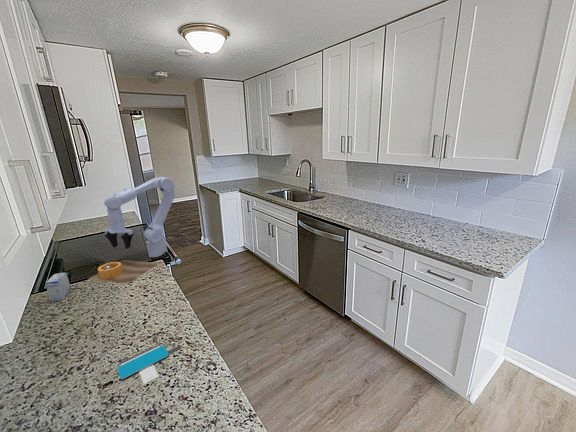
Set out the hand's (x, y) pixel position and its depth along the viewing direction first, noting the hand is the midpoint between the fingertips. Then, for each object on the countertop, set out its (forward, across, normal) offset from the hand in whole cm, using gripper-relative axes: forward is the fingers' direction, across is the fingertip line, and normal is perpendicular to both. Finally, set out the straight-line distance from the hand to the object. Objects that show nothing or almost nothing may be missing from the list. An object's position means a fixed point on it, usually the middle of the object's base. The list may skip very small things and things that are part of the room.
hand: (121, 247), depth 132 cm
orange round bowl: (+9, +2, -10) cm, 14 cm away
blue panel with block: (+12, +56, -52) cm, 77 cm away
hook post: (+9, +1, -10) cm, 14 cm away
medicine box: (+11, -6, -28) cm, 30 cm away
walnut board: (+10, +6, -6) cm, 14 cm away
